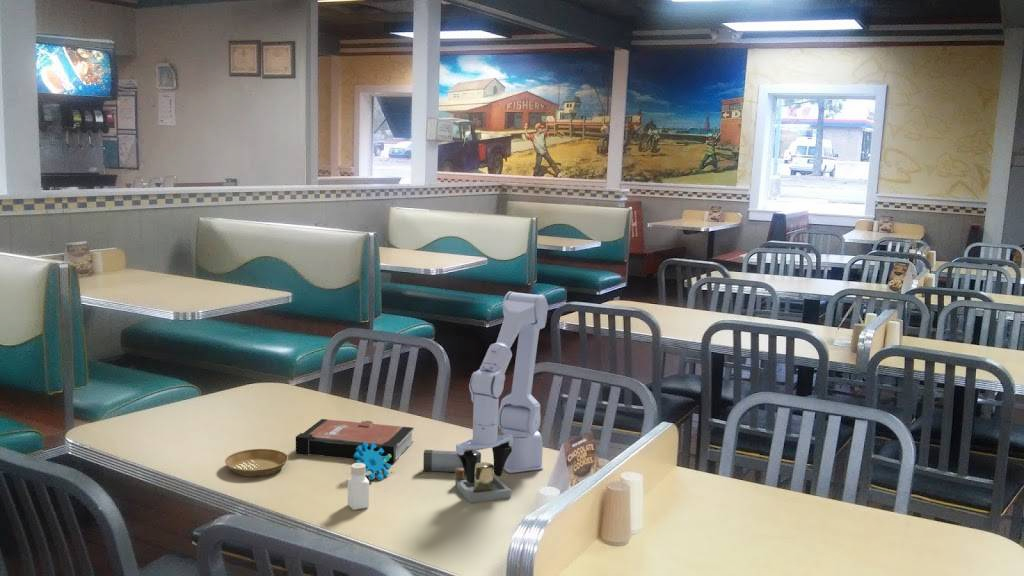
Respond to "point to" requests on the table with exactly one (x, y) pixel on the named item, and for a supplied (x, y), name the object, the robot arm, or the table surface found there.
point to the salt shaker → (358, 487)
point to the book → (353, 439)
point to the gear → (373, 460)
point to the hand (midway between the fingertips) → (483, 478)
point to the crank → (444, 460)
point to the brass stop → (483, 477)
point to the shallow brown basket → (257, 461)
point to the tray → (498, 492)
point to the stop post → (459, 475)
